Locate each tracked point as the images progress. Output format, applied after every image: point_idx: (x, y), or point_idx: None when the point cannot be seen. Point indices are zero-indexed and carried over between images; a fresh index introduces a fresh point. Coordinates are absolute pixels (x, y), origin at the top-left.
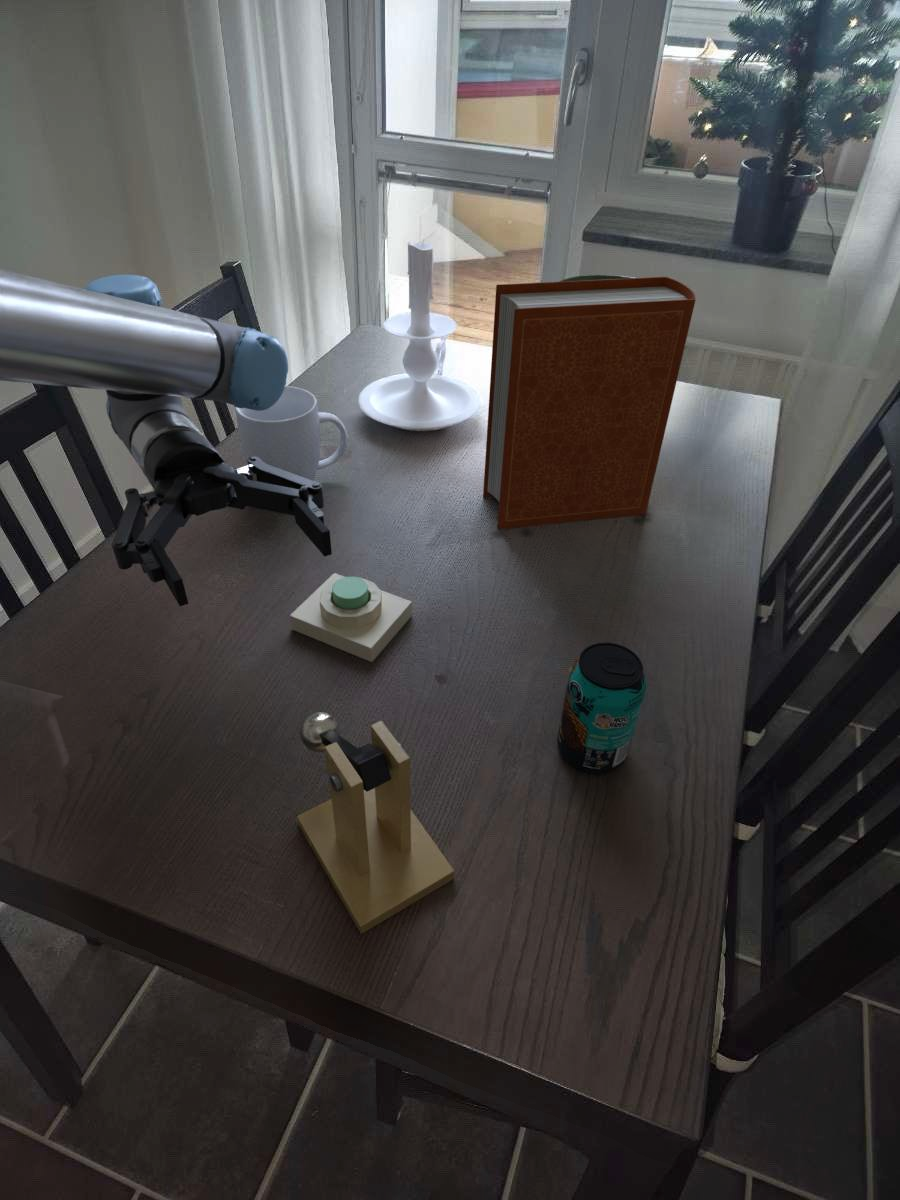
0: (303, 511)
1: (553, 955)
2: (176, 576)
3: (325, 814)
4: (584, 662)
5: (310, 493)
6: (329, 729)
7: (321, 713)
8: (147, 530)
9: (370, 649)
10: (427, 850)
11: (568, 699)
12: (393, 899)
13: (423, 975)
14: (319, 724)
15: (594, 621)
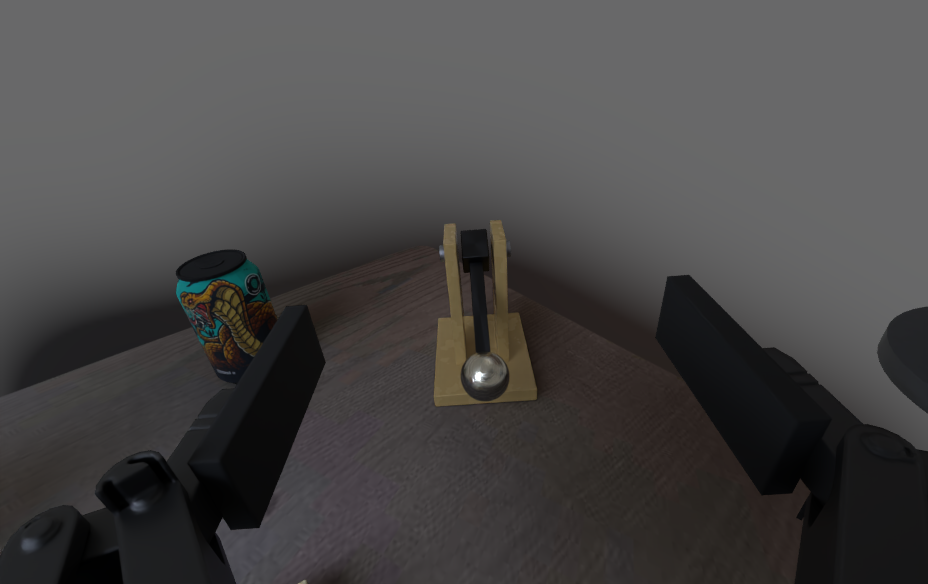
0: (261, 383)
1: (418, 286)
2: (683, 283)
3: (509, 380)
4: (223, 270)
5: (99, 533)
6: (477, 351)
7: (476, 365)
8: (898, 516)
9: (307, 582)
10: (446, 332)
11: (255, 304)
12: (489, 317)
13: (492, 298)
14: (485, 353)
15: (12, 499)
